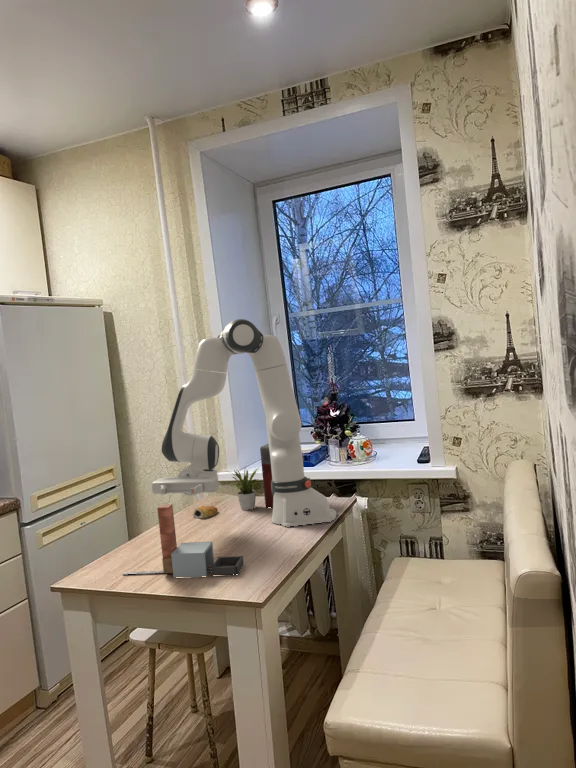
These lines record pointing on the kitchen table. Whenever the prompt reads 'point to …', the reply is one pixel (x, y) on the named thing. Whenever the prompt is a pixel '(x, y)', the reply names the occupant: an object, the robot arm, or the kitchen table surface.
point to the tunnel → (192, 559)
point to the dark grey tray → (227, 565)
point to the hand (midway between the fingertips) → (177, 491)
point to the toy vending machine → (267, 475)
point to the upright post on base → (167, 535)
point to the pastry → (205, 512)
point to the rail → (148, 572)
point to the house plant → (246, 490)
